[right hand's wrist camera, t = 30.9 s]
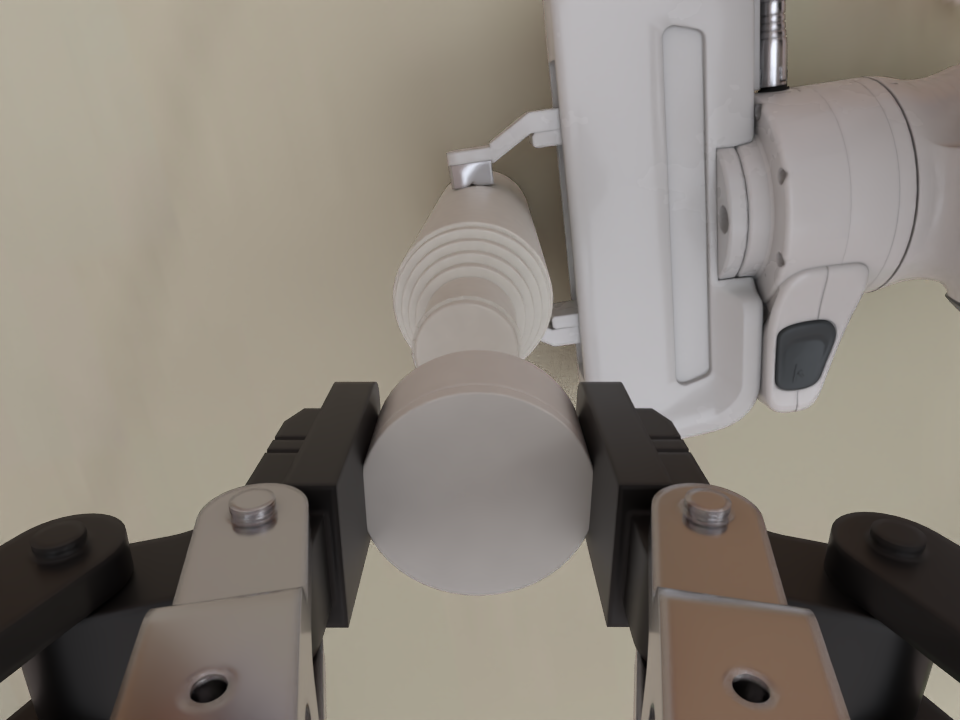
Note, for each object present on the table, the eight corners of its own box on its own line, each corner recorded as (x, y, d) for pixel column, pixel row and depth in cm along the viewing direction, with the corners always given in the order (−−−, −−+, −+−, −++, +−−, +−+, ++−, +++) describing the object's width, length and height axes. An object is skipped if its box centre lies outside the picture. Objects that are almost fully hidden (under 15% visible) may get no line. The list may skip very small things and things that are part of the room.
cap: (369, 521, 13) (353, 585, 11) (381, 337, 11) (364, 380, 10) (563, 539, 13) (575, 605, 11) (597, 360, 11) (617, 406, 10)
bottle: (419, 196, 35) (327, 310, 16) (504, 152, 34) (513, 217, 15) (463, 278, 36) (426, 471, 17) (544, 238, 35) (599, 395, 16)
